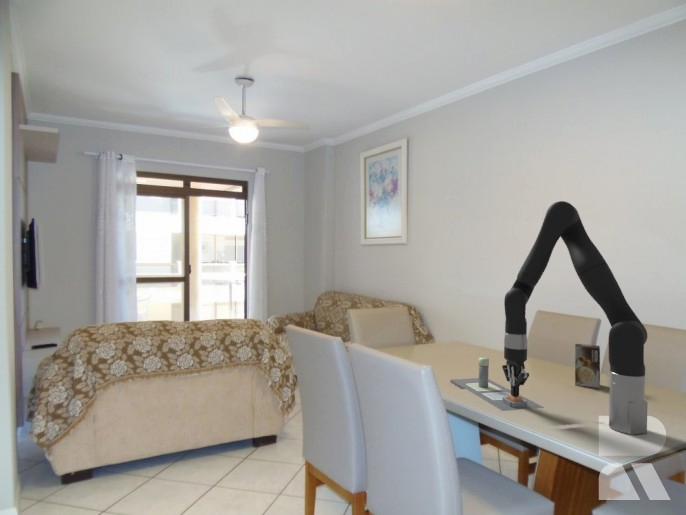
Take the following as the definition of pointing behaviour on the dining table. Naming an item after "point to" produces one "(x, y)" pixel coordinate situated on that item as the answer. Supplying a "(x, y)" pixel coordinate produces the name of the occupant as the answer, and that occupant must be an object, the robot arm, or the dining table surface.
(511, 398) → the button
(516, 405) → the picture board
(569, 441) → the dining table surface
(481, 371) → the marker
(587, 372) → the coffee box
